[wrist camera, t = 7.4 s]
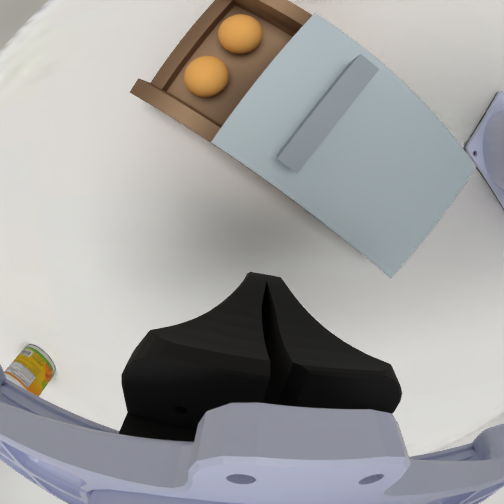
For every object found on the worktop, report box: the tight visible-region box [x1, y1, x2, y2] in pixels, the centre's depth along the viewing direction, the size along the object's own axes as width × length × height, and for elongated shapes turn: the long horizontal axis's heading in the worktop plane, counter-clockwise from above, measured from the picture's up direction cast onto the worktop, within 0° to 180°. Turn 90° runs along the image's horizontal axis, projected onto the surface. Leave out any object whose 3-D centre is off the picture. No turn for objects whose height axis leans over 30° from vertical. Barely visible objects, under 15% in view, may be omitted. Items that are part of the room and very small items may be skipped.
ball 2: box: [218, 14, 263, 54], centre depth 14 cm, size 3×3×3 cm
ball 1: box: [184, 56, 229, 97], centre depth 16 cm, size 3×3×3 cm
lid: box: [211, 13, 476, 278], centre depth 14 cm, size 14×10×3 cm
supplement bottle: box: [4, 345, 55, 397], centre depth 25 cm, size 5×5×10 cm
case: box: [130, 0, 319, 220], centre depth 16 cm, size 14×10×4 cm
